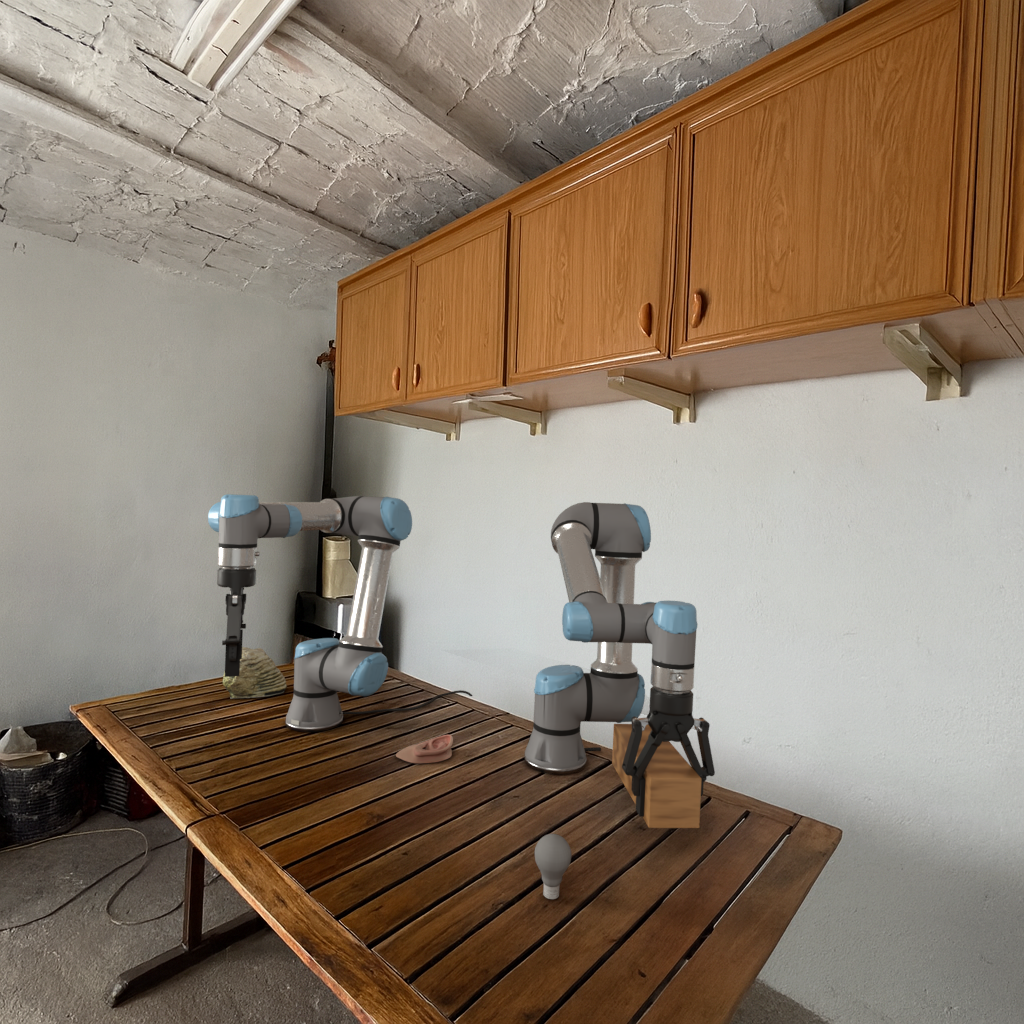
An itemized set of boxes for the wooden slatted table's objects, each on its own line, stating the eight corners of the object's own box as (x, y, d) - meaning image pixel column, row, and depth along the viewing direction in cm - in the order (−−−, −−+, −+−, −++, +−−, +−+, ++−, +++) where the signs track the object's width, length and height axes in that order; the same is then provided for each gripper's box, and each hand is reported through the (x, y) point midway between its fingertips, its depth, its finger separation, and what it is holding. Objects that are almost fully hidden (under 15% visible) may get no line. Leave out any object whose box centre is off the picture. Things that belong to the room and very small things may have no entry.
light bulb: (530, 885, 106) (533, 826, 106) (566, 885, 106) (568, 826, 106) (534, 909, 100) (537, 846, 100) (572, 908, 100) (575, 846, 100)
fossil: (218, 695, 195) (220, 647, 195) (278, 685, 208) (279, 640, 207) (228, 703, 189) (230, 653, 188) (289, 692, 201) (290, 645, 201)
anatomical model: (391, 744, 153) (408, 727, 164) (390, 760, 153) (407, 743, 164) (443, 750, 150) (457, 733, 162) (443, 767, 150) (457, 749, 162)
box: (611, 763, 136) (613, 723, 136) (652, 764, 137) (654, 724, 137) (648, 828, 109) (651, 778, 109) (699, 828, 110) (701, 778, 110)
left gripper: (255, 574, 124) (251, 682, 124) (257, 561, 147) (253, 652, 147) (213, 574, 121) (209, 685, 121) (221, 561, 144) (218, 653, 145)
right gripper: (617, 693, 109) (611, 823, 109) (739, 695, 111) (733, 823, 111) (607, 681, 117) (602, 802, 117) (721, 683, 118) (716, 803, 119)
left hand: (233, 667), depth 134 cm, fingers open, 13 cm apart
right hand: (666, 812), depth 114 cm, fingers closed on box, 9 cm apart
